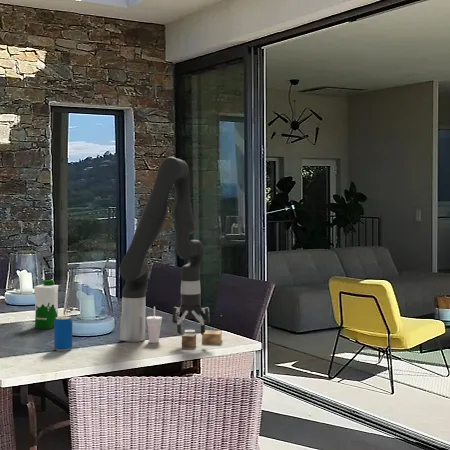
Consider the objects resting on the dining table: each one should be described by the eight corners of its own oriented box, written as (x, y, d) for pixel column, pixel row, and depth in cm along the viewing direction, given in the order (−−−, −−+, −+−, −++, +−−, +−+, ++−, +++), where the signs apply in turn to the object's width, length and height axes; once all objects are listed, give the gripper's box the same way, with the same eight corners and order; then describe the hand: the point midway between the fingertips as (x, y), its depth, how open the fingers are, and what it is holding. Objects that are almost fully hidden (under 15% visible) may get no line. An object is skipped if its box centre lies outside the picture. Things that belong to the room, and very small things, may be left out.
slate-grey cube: (184, 341, 264) (184, 331, 264) (184, 339, 268) (184, 329, 268) (194, 341, 264) (195, 331, 264) (194, 339, 268) (194, 329, 268)
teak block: (202, 343, 261) (202, 333, 261) (204, 340, 268) (204, 330, 268) (219, 344, 261) (219, 334, 261) (221, 340, 268) (221, 330, 268)
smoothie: (147, 344, 259) (147, 308, 258) (144, 340, 265) (144, 305, 264) (163, 343, 260) (163, 307, 260) (160, 339, 266) (160, 305, 266)
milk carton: (60, 325, 292) (60, 280, 291) (50, 329, 283) (50, 282, 282) (42, 324, 294) (42, 279, 293) (31, 328, 285) (31, 281, 284)
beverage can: (65, 346, 252) (65, 315, 252) (75, 349, 248) (75, 317, 248) (50, 349, 247) (50, 317, 247) (61, 352, 243) (61, 319, 243)
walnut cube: (181, 347, 254) (181, 335, 254) (184, 344, 259) (184, 333, 258) (193, 348, 253) (193, 336, 253) (195, 345, 258) (196, 334, 258)
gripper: (210, 291, 258) (211, 332, 259) (174, 290, 260) (175, 331, 261) (207, 293, 251) (207, 336, 251) (170, 293, 253) (170, 336, 254)
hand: (191, 334), depth 256 cm, fingers open, 8 cm apart
